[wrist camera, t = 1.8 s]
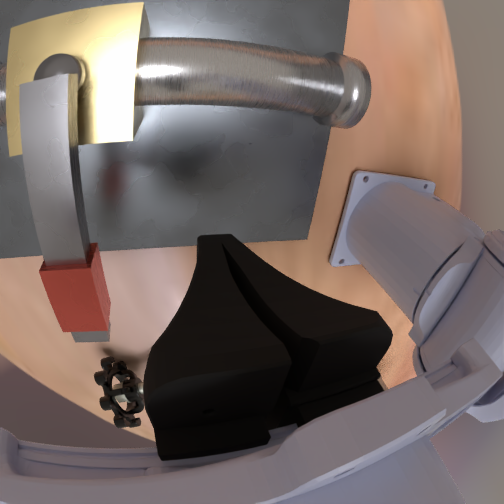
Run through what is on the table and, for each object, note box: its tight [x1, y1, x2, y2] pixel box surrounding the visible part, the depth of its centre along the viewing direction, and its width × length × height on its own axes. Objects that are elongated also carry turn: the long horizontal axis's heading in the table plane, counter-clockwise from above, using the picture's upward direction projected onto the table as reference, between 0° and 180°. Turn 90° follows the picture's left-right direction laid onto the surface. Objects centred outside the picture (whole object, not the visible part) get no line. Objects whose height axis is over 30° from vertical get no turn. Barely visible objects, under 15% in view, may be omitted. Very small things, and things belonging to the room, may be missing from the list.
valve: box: [94, 356, 145, 428], centre depth 21 cm, size 7×7×12 cm
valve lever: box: [19, 53, 111, 342], centre depth 8 cm, size 11×2×2 cm, turn 173°
